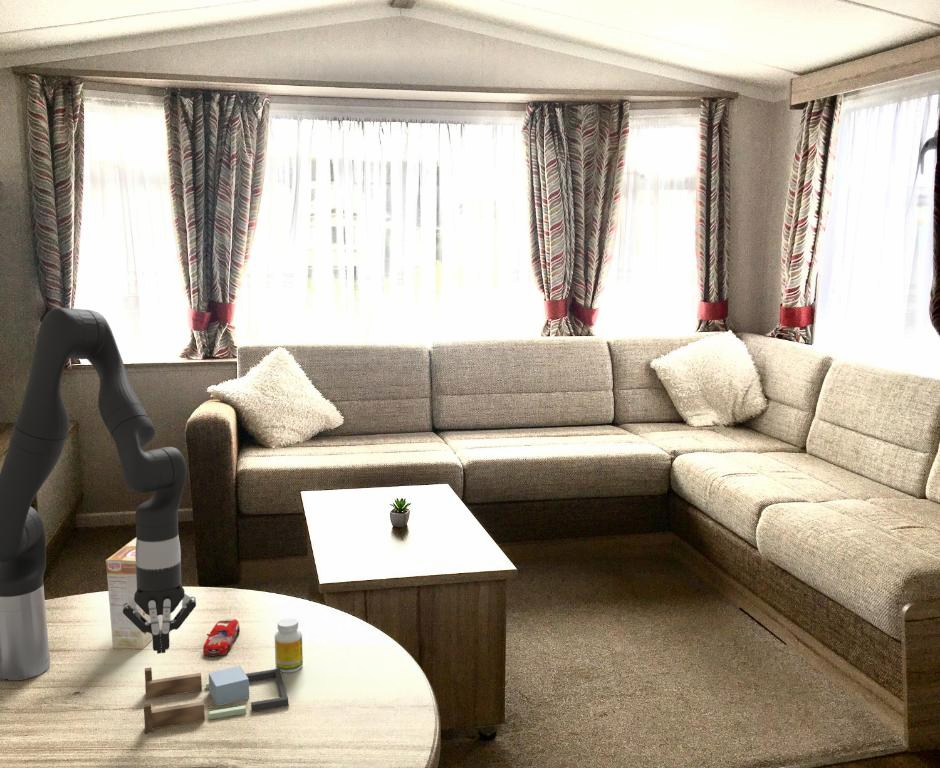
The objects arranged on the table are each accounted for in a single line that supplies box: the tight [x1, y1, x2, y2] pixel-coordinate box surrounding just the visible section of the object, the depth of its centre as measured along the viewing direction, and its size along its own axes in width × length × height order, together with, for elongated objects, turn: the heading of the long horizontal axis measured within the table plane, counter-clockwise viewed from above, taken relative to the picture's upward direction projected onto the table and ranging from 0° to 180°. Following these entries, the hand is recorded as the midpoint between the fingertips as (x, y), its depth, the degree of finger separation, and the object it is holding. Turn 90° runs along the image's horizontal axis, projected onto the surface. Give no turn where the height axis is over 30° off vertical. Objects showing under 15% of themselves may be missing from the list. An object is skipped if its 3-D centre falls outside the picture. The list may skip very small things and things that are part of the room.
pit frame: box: [245, 668, 290, 713], centre depth 171 cm, size 7×12×1 cm, turn 19°
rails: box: [205, 680, 247, 720], centre depth 169 cm, size 6×12×1 cm, turn 19°
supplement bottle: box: [274, 617, 304, 674], centre depth 180 cm, size 5×5×10 cm
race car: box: [202, 618, 241, 657], centre depth 191 cm, size 13×5×4 cm, turn 179°
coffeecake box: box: [105, 537, 172, 650], centre depth 195 cm, size 15×7×20 cm, turn 175°
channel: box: [143, 666, 206, 734], centre depth 165 cm, size 10×15×5 cm
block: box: [208, 665, 250, 707], centre depth 170 cm, size 6×6×4 cm
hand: (161, 651), depth 163 cm, fingers closed
